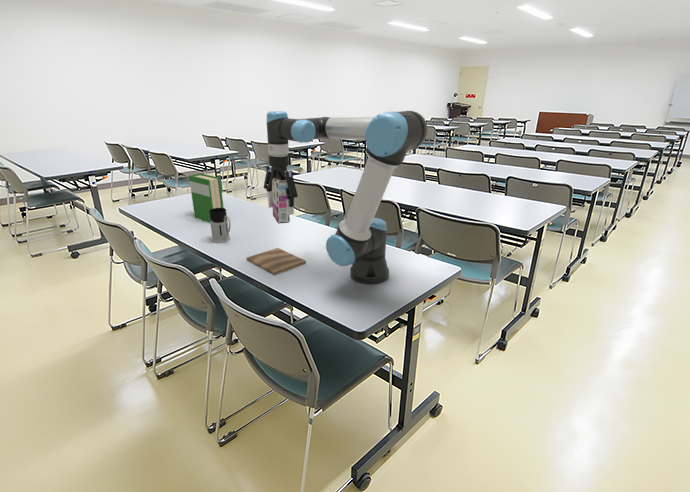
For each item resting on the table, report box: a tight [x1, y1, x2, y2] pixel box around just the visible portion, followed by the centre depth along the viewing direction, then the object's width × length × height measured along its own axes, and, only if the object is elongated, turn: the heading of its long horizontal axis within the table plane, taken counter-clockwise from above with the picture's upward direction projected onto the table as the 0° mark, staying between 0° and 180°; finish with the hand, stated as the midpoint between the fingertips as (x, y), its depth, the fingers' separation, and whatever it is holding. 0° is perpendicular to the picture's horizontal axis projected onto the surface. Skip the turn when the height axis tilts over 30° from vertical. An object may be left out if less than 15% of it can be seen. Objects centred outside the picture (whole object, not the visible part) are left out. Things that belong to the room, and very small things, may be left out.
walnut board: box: [246, 247, 307, 276], centre depth 163 cm, size 20×16×1 cm
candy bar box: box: [271, 178, 291, 224], centre depth 151 cm, size 11×5×16 cm, turn 20°
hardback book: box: [188, 173, 225, 224], centre depth 213 cm, size 18×7×24 cm, turn 52°
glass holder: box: [209, 208, 231, 244], centre depth 183 cm, size 9×14×15 cm, turn 47°
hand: (280, 210), depth 153 cm, fingers closed on candy bar box, 12 cm apart
